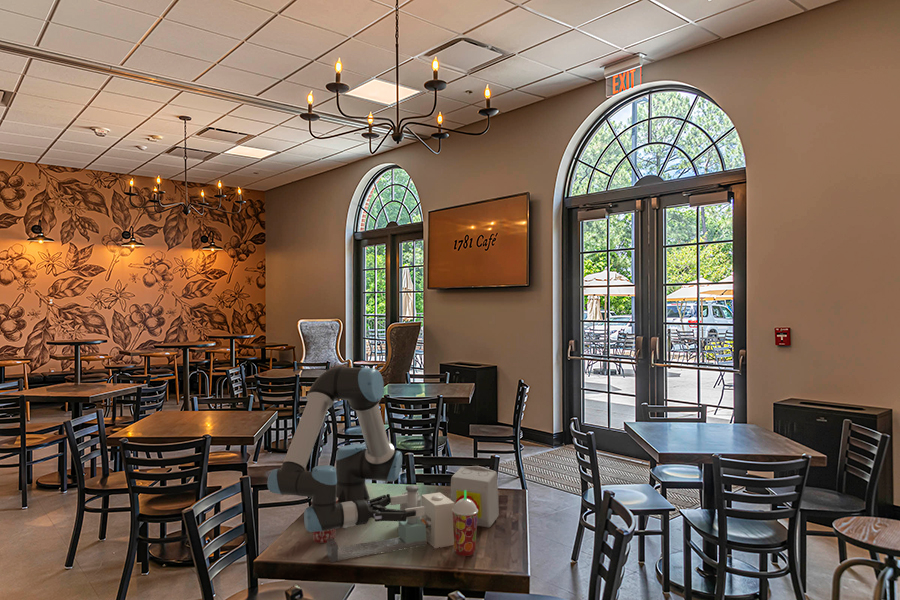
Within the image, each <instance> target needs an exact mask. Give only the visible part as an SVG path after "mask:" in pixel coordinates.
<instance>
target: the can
mask: <svg viewBox="0 0 900 600" xmlns="http://www.w3.org/2000/svg"><path fill="white" fill-rule="evenodd" d="M406 494H408V491H405V492H403V493H402V494H401V495H406ZM417 507H421V496H420V493H419V492H418V491H417ZM399 508H400V509H399V510H405V509H407V503H403V504H399ZM417 518H419V519H420V520H421V516H417ZM406 520H407V518H406Z"/></svg>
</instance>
